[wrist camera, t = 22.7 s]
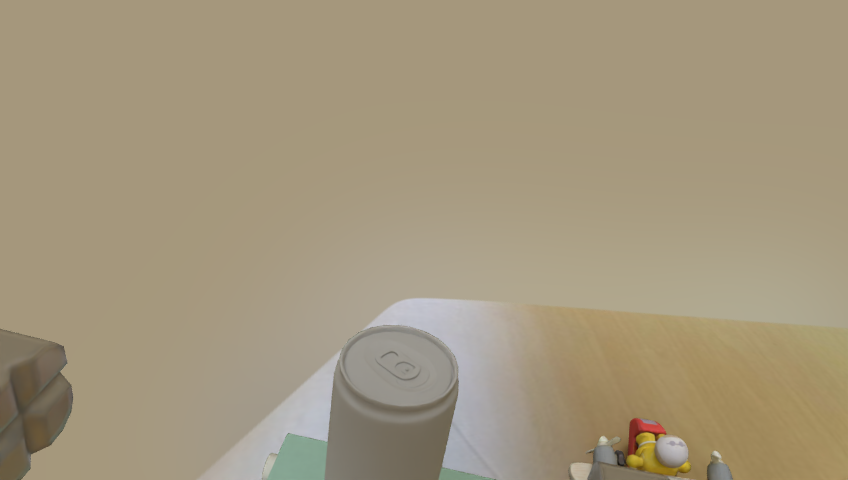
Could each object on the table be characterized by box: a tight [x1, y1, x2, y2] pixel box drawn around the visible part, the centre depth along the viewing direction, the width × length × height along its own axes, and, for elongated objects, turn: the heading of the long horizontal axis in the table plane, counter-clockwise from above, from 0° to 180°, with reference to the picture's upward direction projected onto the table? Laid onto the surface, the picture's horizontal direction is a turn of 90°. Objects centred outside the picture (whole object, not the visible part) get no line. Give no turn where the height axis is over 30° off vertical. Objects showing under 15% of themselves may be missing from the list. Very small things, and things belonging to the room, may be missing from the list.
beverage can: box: [325, 325, 459, 480], centre depth 28 cm, size 5×5×12 cm
